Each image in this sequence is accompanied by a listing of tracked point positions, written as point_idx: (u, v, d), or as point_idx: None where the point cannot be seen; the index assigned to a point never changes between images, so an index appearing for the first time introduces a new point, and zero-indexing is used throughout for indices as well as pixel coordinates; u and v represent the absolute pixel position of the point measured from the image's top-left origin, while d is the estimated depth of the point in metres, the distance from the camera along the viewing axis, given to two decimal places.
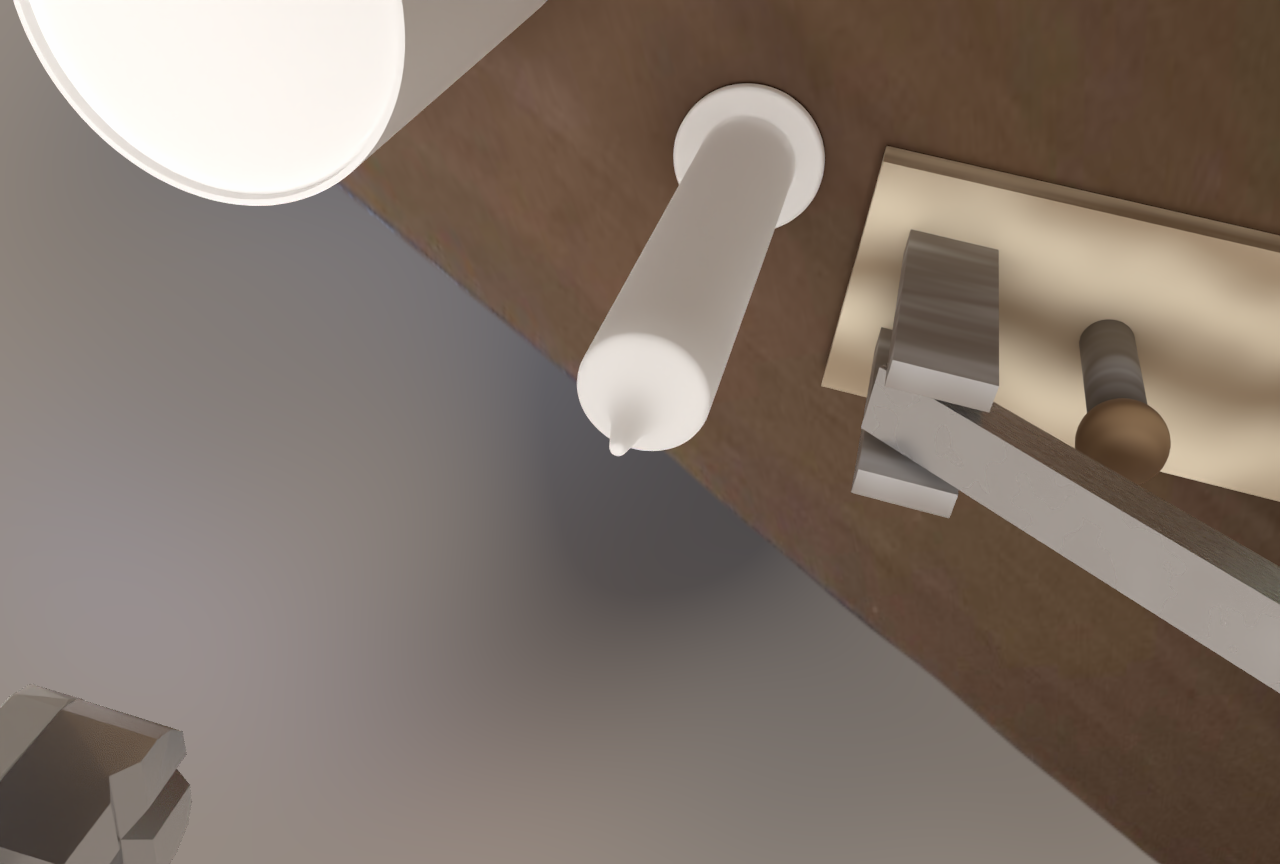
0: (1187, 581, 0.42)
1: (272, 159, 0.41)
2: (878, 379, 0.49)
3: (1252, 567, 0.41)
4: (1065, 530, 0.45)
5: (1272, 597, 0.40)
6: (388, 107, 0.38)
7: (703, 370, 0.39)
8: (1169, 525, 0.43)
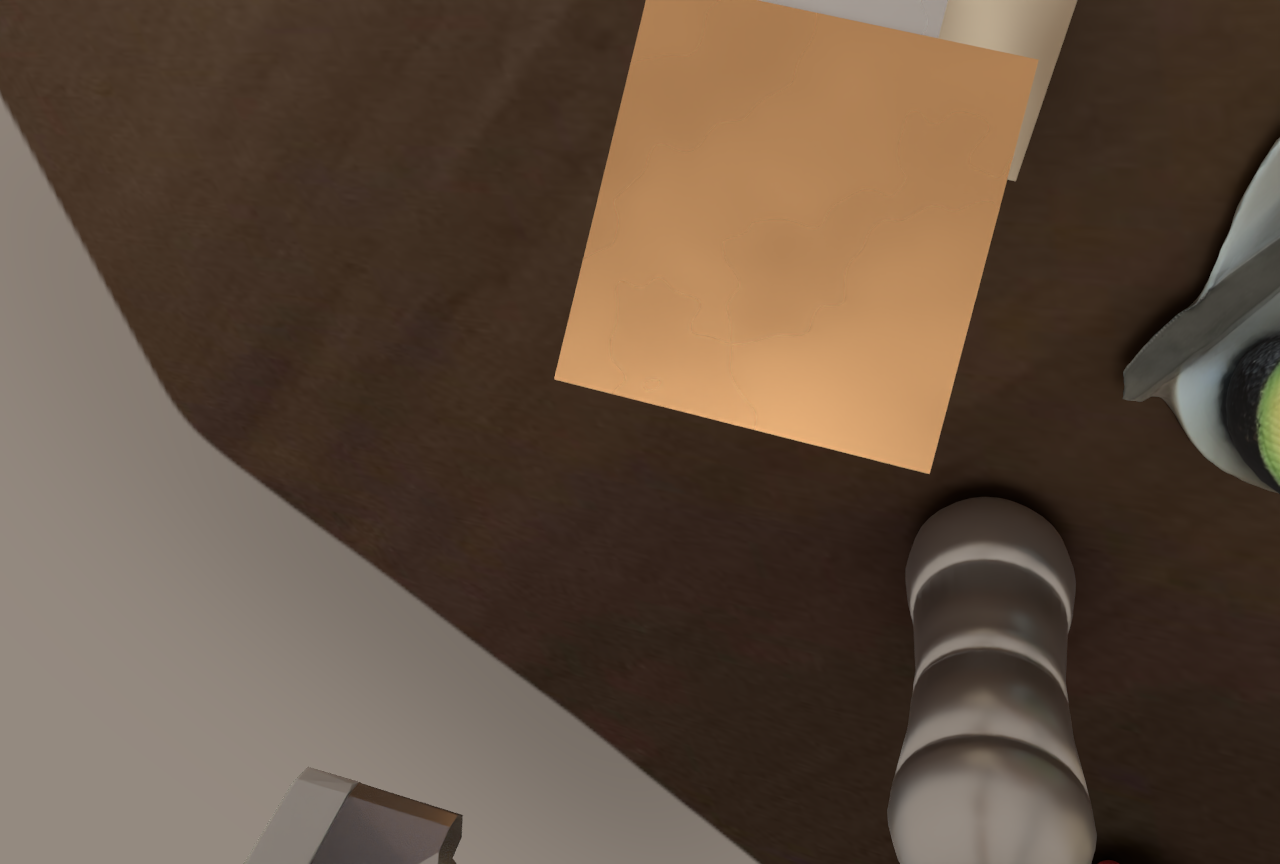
0: None
1: None
2: None
3: None
4: None
5: None
6: None
7: None
8: None
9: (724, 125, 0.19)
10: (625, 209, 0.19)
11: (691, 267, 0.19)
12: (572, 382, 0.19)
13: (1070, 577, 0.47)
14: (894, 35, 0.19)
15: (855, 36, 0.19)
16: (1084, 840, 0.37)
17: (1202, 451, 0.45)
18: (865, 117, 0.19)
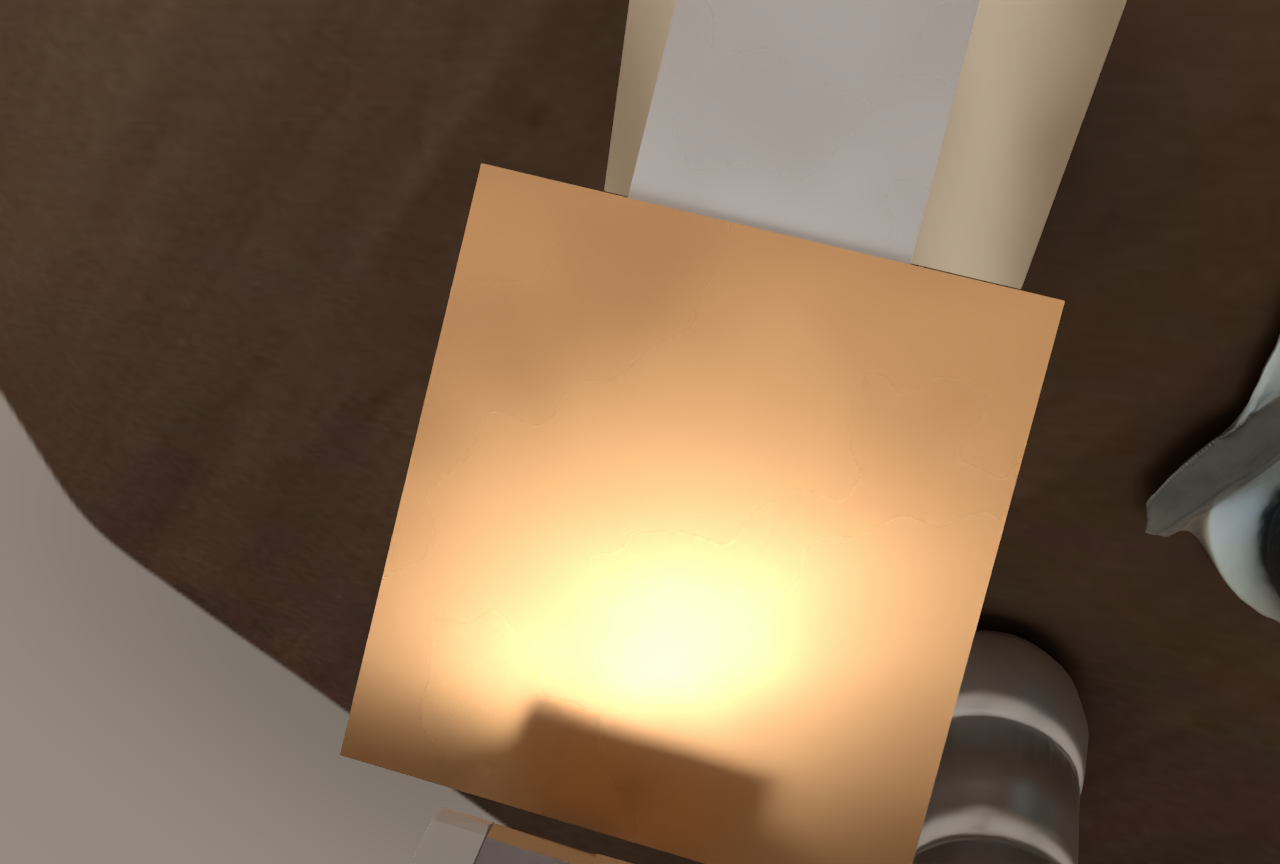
0: None
1: None
2: None
3: None
4: None
5: None
6: None
7: None
8: None
9: (589, 387, 0.13)
10: (445, 508, 0.13)
11: (541, 597, 0.13)
12: (366, 762, 0.13)
13: (1082, 731, 0.40)
14: (845, 257, 0.12)
15: (785, 259, 0.12)
16: None
17: (1237, 592, 0.38)
18: (801, 381, 0.12)
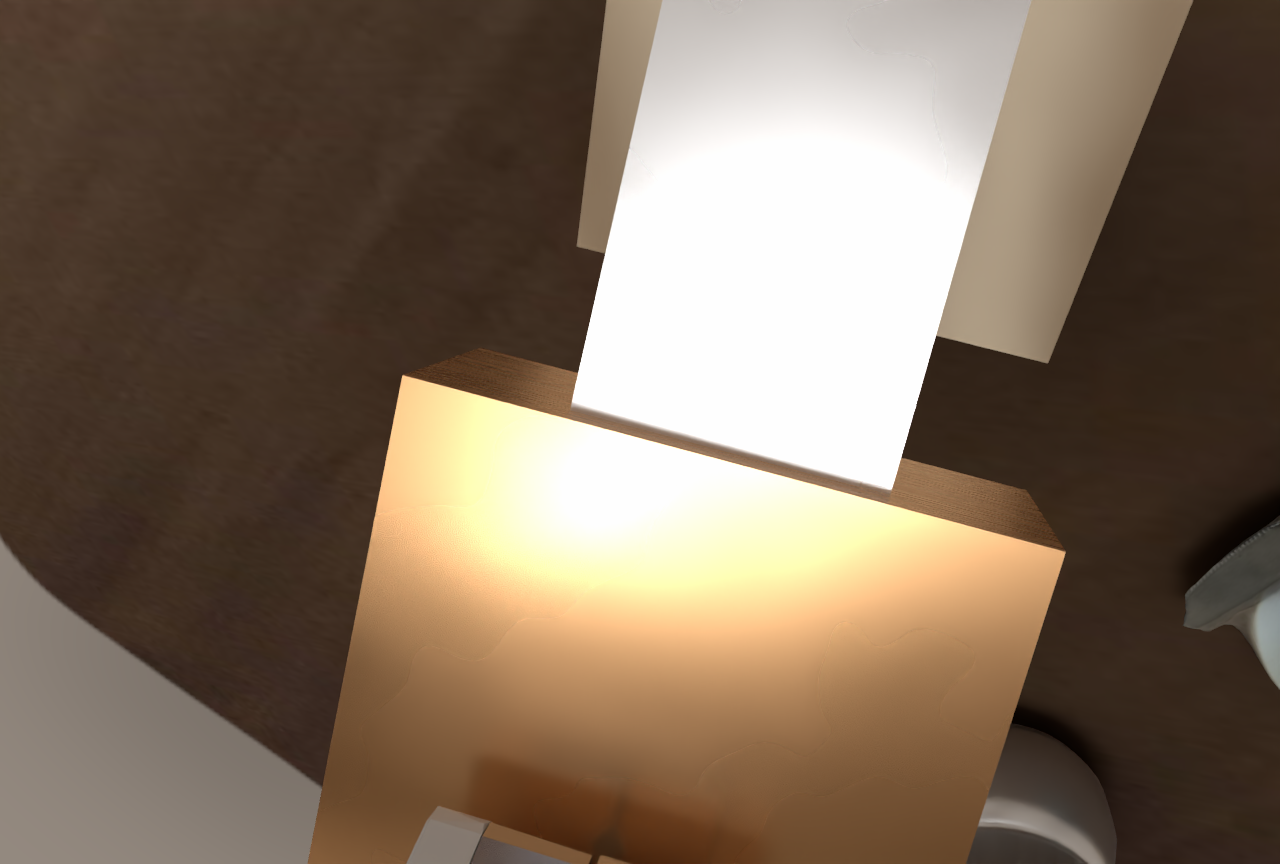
0: None
1: None
2: None
3: None
4: None
5: (1006, 83, 0.10)
6: None
7: None
8: None
9: (530, 624, 0.11)
10: (380, 742, 0.12)
11: None
12: None
13: (1110, 841, 0.36)
14: (814, 492, 0.11)
15: (746, 494, 0.11)
16: None
17: None
18: (763, 627, 0.11)
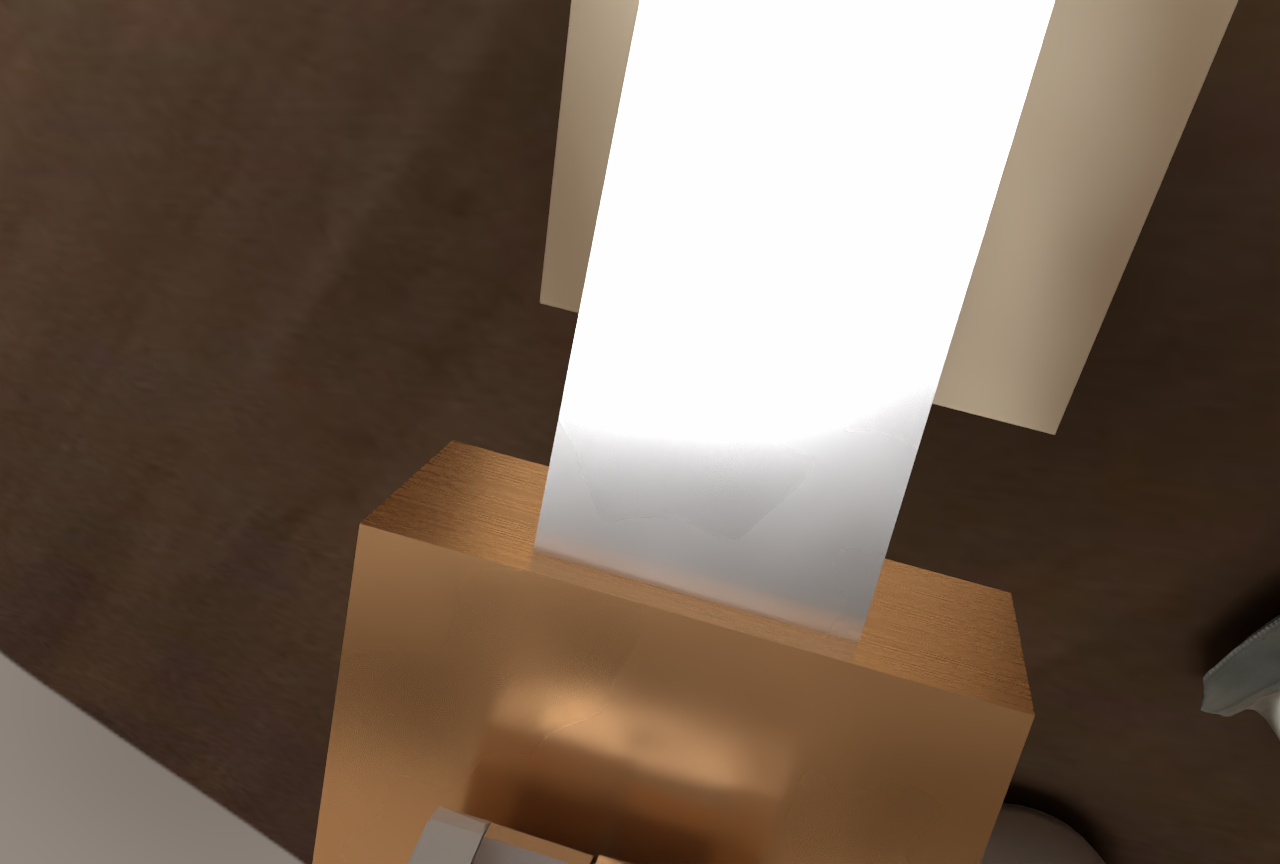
0: None
1: None
2: None
3: None
4: None
5: (982, 233, 0.10)
6: None
7: None
8: None
9: (500, 760, 0.11)
10: (359, 860, 0.12)
11: None
12: None
13: None
14: (779, 648, 0.10)
15: (709, 650, 0.11)
16: None
17: None
18: (730, 773, 0.11)
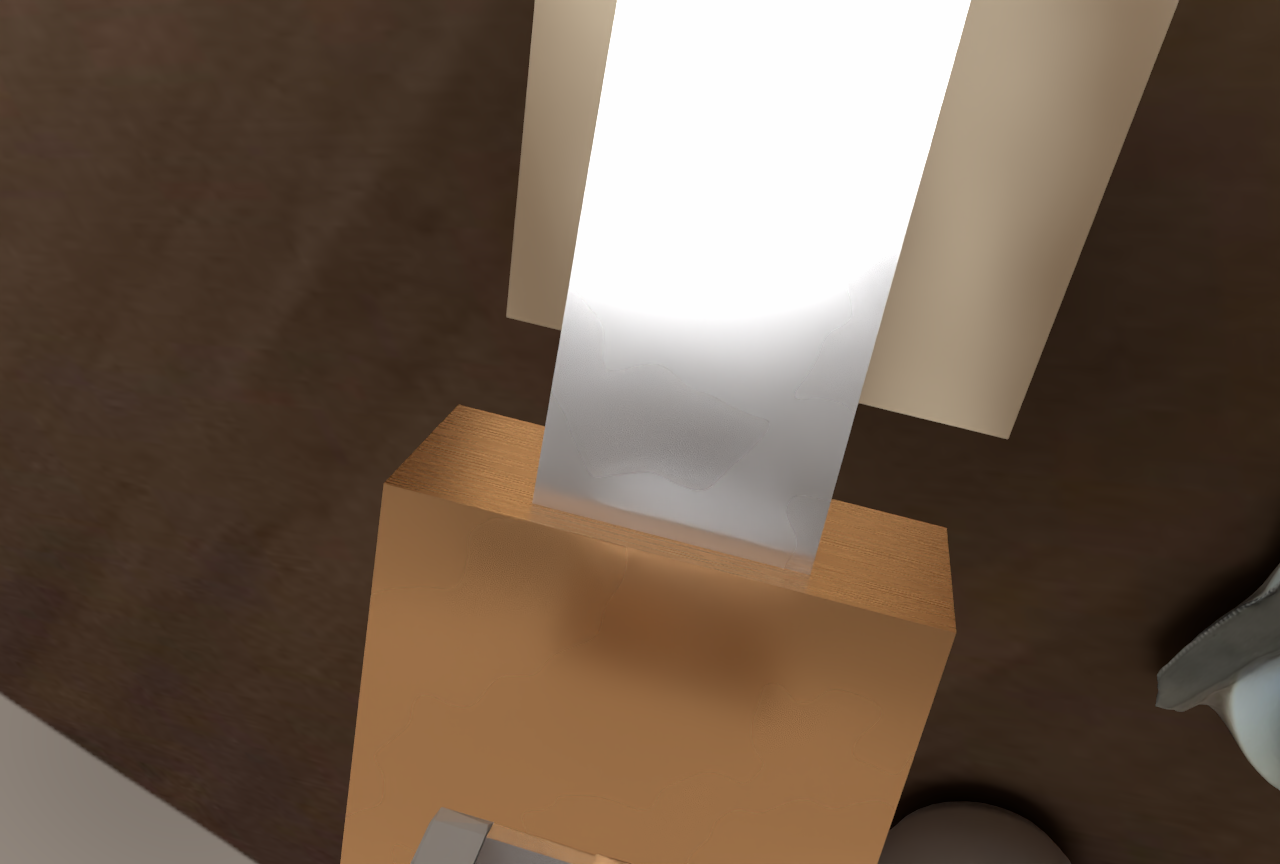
0: None
1: None
2: None
3: None
4: None
5: (905, 230, 0.11)
6: None
7: None
8: None
9: (509, 680, 0.13)
10: (391, 767, 0.14)
11: None
12: None
13: None
14: (742, 581, 0.12)
15: (684, 584, 0.12)
16: None
17: (1263, 774, 0.32)
18: (704, 686, 0.13)
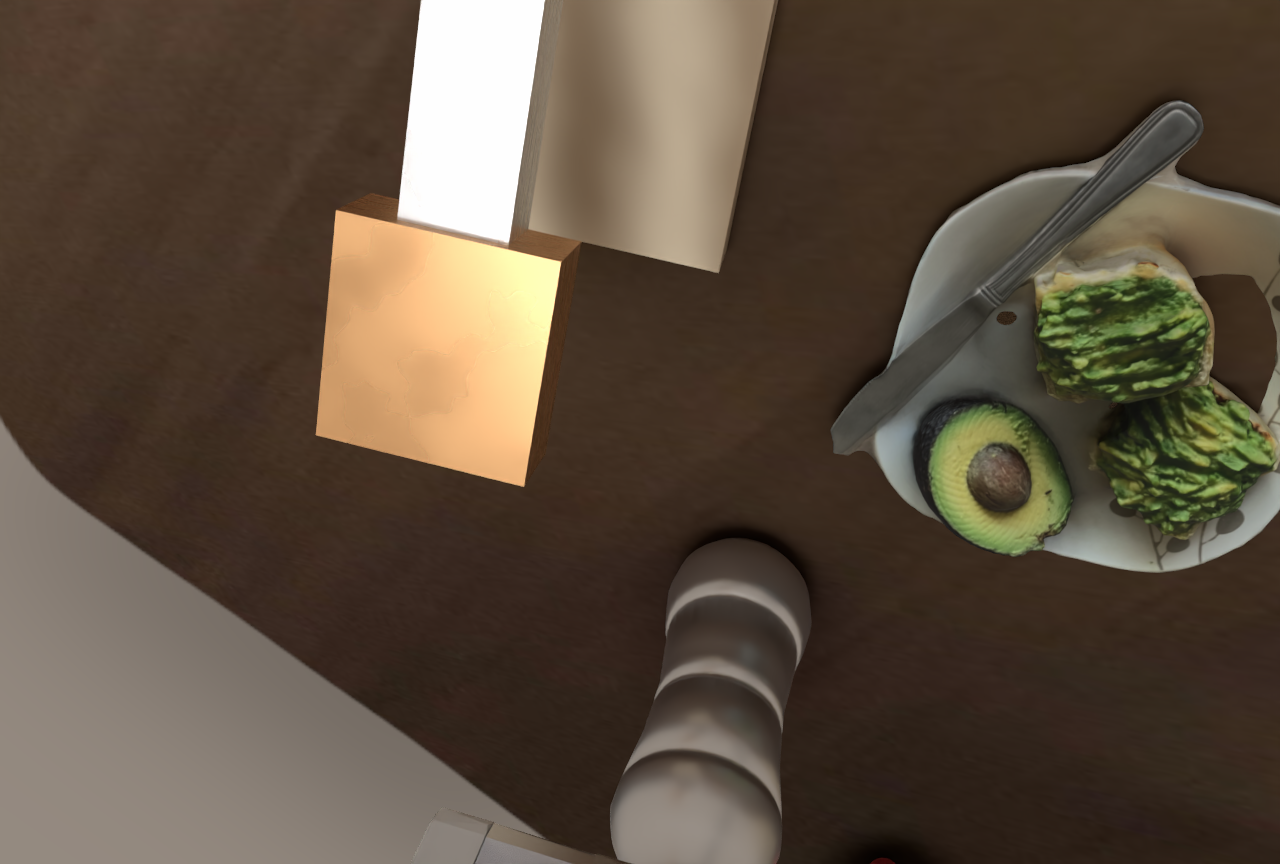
0: None
1: None
2: None
3: (547, 52, 0.31)
4: None
5: (531, 101, 0.30)
6: None
7: None
8: None
9: (389, 296, 0.32)
10: (341, 343, 0.33)
11: (382, 375, 0.33)
12: None
13: (801, 609, 0.53)
14: (479, 245, 0.31)
15: (456, 247, 0.31)
16: (763, 838, 0.43)
17: (904, 497, 0.51)
18: (467, 293, 0.32)
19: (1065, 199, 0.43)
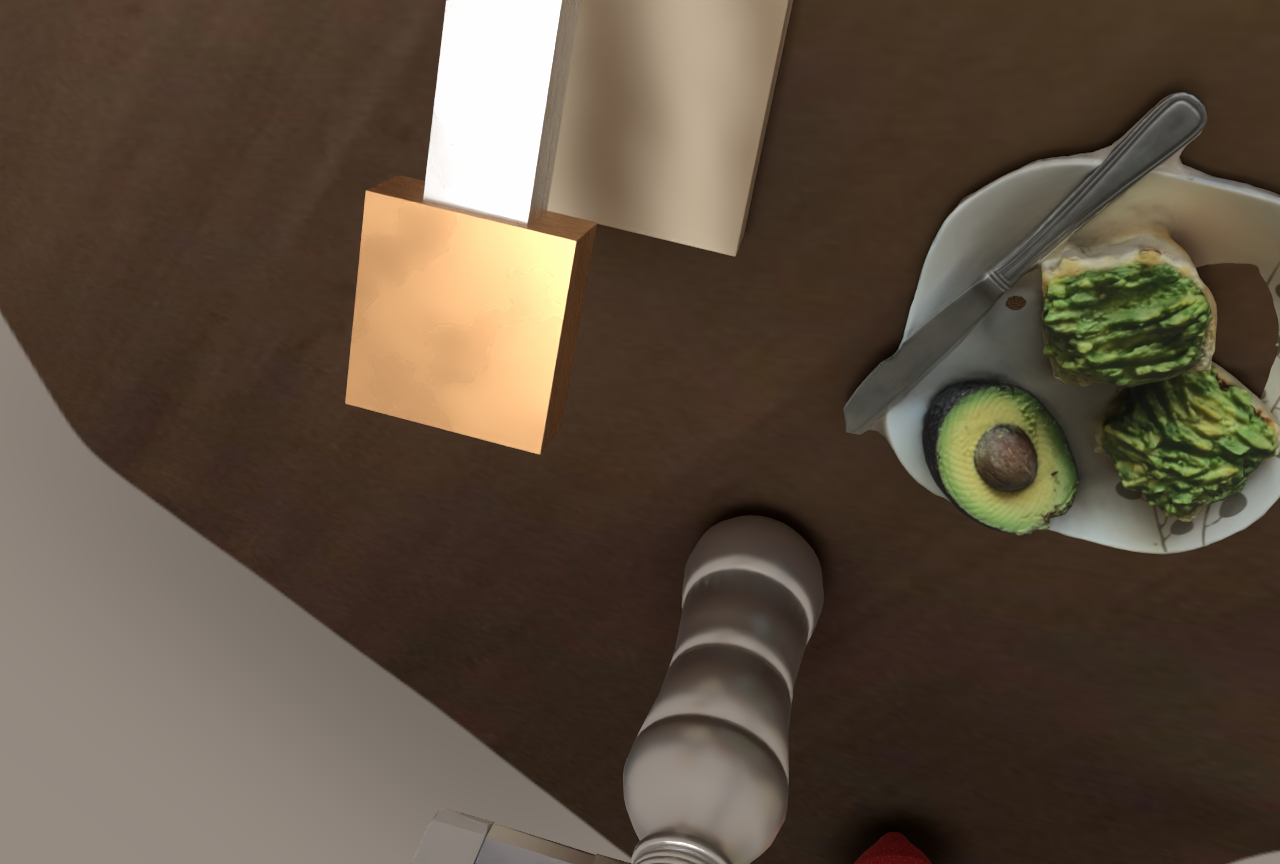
0: None
1: None
2: None
3: (565, 43, 0.32)
4: None
5: (549, 88, 0.32)
6: None
7: None
8: None
9: (415, 273, 0.34)
10: (369, 316, 0.35)
11: (407, 347, 0.35)
12: (354, 405, 0.36)
13: (814, 584, 0.55)
14: (499, 225, 0.33)
15: (478, 226, 0.33)
16: (769, 800, 0.45)
17: (914, 476, 0.53)
18: (488, 270, 0.34)
19: (1071, 188, 0.45)
